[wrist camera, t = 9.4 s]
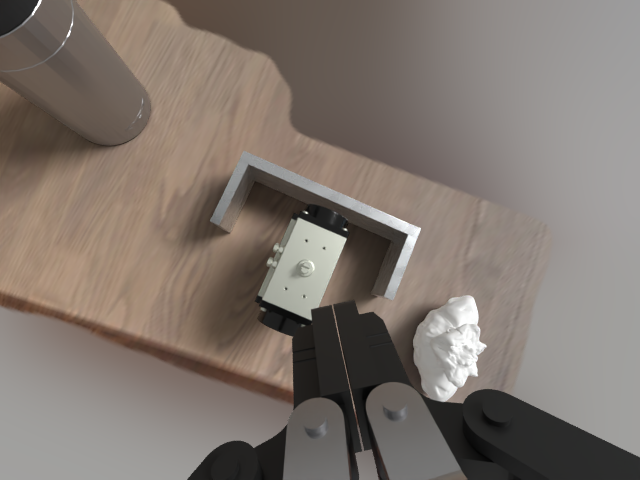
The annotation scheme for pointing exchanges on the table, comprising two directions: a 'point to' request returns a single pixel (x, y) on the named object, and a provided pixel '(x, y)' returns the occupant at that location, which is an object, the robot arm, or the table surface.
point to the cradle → (314, 193)
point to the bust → (448, 347)
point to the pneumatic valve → (301, 268)
